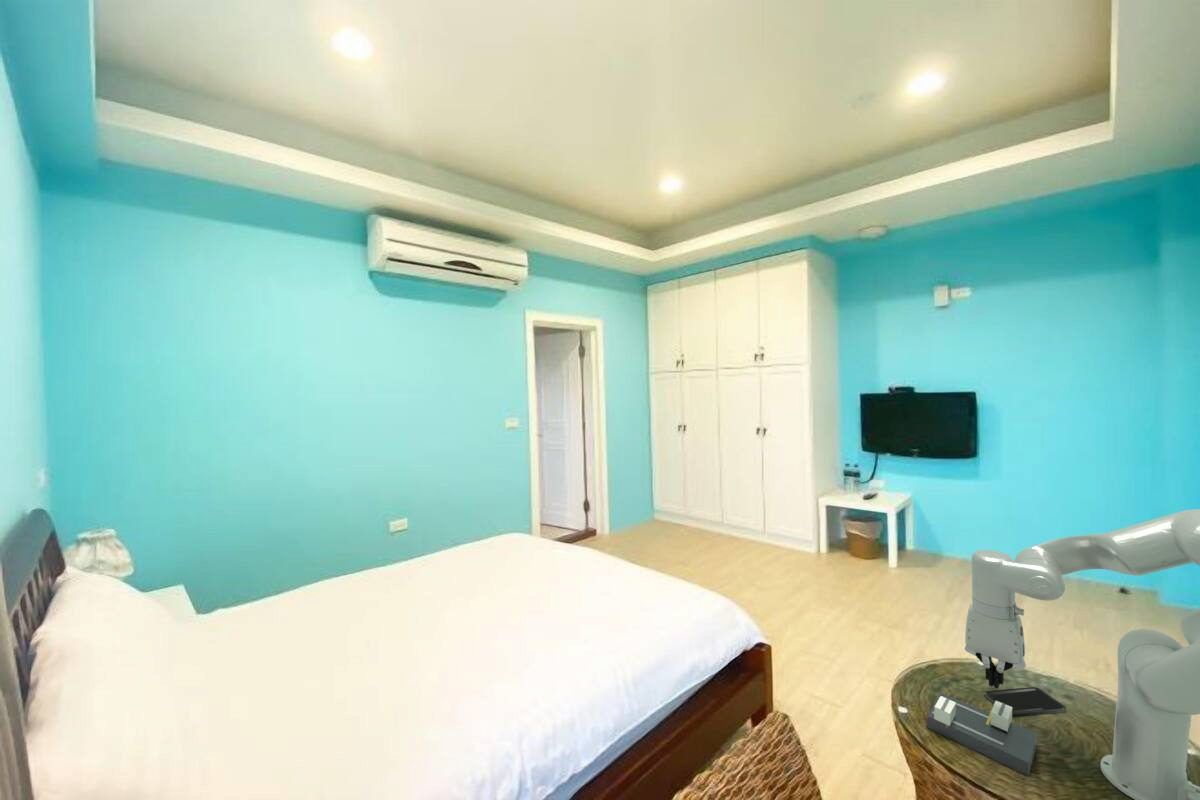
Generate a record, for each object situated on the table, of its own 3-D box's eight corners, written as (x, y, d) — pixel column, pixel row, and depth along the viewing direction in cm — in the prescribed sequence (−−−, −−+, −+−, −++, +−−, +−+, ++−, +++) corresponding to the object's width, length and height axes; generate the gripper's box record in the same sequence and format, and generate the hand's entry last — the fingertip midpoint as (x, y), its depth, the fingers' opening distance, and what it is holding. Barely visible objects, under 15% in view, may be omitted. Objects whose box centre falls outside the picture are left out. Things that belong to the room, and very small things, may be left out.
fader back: (1011, 719, 110) (1012, 706, 110) (1007, 731, 107) (1008, 718, 107) (995, 712, 113) (995, 700, 112) (990, 724, 109) (991, 711, 109)
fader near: (955, 714, 113) (956, 702, 112) (949, 726, 109) (950, 713, 109) (940, 707, 115) (940, 695, 114) (934, 718, 111) (934, 706, 111)
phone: (981, 691, 123) (1037, 686, 124) (981, 695, 123) (1037, 690, 124) (1010, 714, 115) (1069, 709, 116) (1009, 719, 115) (1068, 713, 116)
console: (1037, 743, 108) (1038, 730, 107) (1027, 778, 99) (1028, 764, 99) (941, 701, 121) (941, 690, 121) (925, 729, 113) (926, 717, 112)
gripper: (1040, 611, 106) (1041, 691, 107) (957, 590, 117) (959, 663, 118) (1035, 625, 101) (1036, 708, 102) (948, 602, 112) (950, 677, 113)
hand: (994, 684), depth 110 cm, fingers closed
